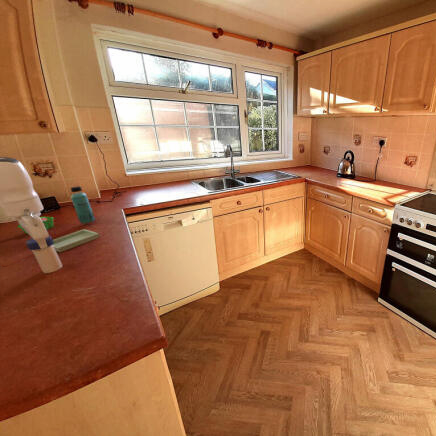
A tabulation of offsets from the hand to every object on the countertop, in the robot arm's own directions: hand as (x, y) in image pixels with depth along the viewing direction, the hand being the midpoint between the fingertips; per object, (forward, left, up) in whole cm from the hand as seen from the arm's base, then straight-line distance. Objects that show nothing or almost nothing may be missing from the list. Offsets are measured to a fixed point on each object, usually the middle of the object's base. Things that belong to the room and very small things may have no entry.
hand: (41, 244), depth 85 cm
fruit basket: (+15, +52, -10) cm, 55 cm away
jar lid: (0, 0, +2) cm, 2 cm away
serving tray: (+15, +19, -10) cm, 26 cm away
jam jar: (0, 0, -10) cm, 10 cm away
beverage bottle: (+30, +37, -10) cm, 49 cm away
